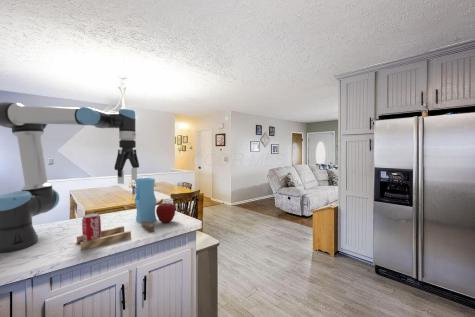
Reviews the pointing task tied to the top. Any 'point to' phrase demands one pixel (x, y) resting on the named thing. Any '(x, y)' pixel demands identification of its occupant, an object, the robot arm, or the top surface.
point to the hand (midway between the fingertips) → (127, 181)
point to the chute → (105, 237)
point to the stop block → (148, 226)
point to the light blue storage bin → (145, 200)
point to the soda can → (91, 227)
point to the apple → (165, 212)
